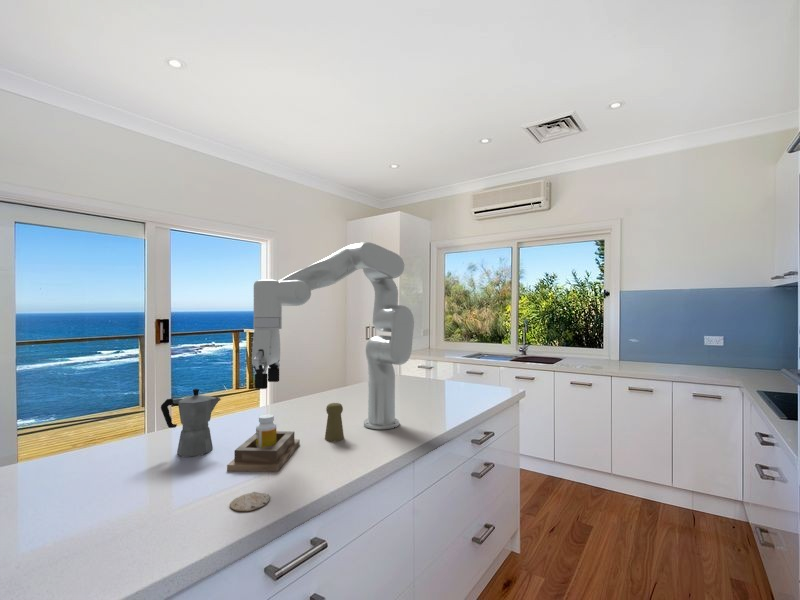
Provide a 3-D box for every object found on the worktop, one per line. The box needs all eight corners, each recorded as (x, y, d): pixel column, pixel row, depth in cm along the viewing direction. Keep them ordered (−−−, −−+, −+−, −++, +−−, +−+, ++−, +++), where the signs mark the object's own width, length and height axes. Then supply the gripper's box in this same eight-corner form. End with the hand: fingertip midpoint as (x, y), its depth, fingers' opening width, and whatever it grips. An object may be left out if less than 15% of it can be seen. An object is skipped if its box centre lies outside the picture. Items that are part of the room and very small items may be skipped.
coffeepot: (221, 443, 121) (222, 384, 121) (218, 454, 112) (219, 390, 113) (163, 449, 116) (164, 387, 116) (156, 461, 107) (157, 394, 107)
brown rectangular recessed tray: (257, 443, 121) (257, 429, 121) (299, 444, 120) (299, 429, 120) (227, 470, 101) (227, 453, 101) (277, 471, 100) (277, 453, 100)
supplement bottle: (280, 449, 112) (280, 414, 112) (268, 455, 107) (268, 419, 107) (264, 446, 114) (264, 412, 114) (251, 453, 109) (251, 417, 109)
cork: (340, 442, 123) (340, 406, 123) (321, 440, 124) (321, 405, 124) (346, 435, 129) (346, 401, 129) (329, 434, 130) (329, 400, 130)
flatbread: (241, 517, 79) (241, 512, 79) (223, 505, 84) (223, 500, 84) (277, 502, 85) (277, 497, 85) (258, 491, 90) (258, 487, 90)
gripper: (265, 322, 120) (265, 379, 120) (241, 325, 103) (241, 391, 102) (290, 322, 120) (290, 379, 120) (270, 325, 103) (270, 391, 102)
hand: (267, 384), depth 111 cm, fingers open, 9 cm apart
